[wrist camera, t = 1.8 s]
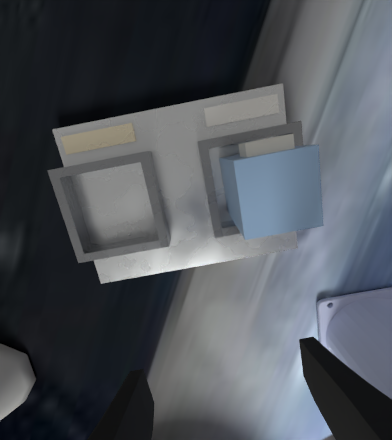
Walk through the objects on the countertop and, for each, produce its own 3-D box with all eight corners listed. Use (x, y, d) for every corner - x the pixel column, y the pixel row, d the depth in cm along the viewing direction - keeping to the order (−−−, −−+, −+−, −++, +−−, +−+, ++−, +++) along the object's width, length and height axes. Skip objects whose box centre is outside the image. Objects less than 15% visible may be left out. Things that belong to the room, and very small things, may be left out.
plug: (273, 137, 18) (317, 128, 12) (280, 201, 19) (323, 225, 13) (217, 147, 18) (231, 145, 12) (227, 211, 19) (244, 240, 13)
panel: (282, 86, 18) (297, 75, 15) (296, 243, 21) (311, 255, 19) (54, 131, 18) (33, 128, 16) (101, 278, 22) (89, 295, 19)
